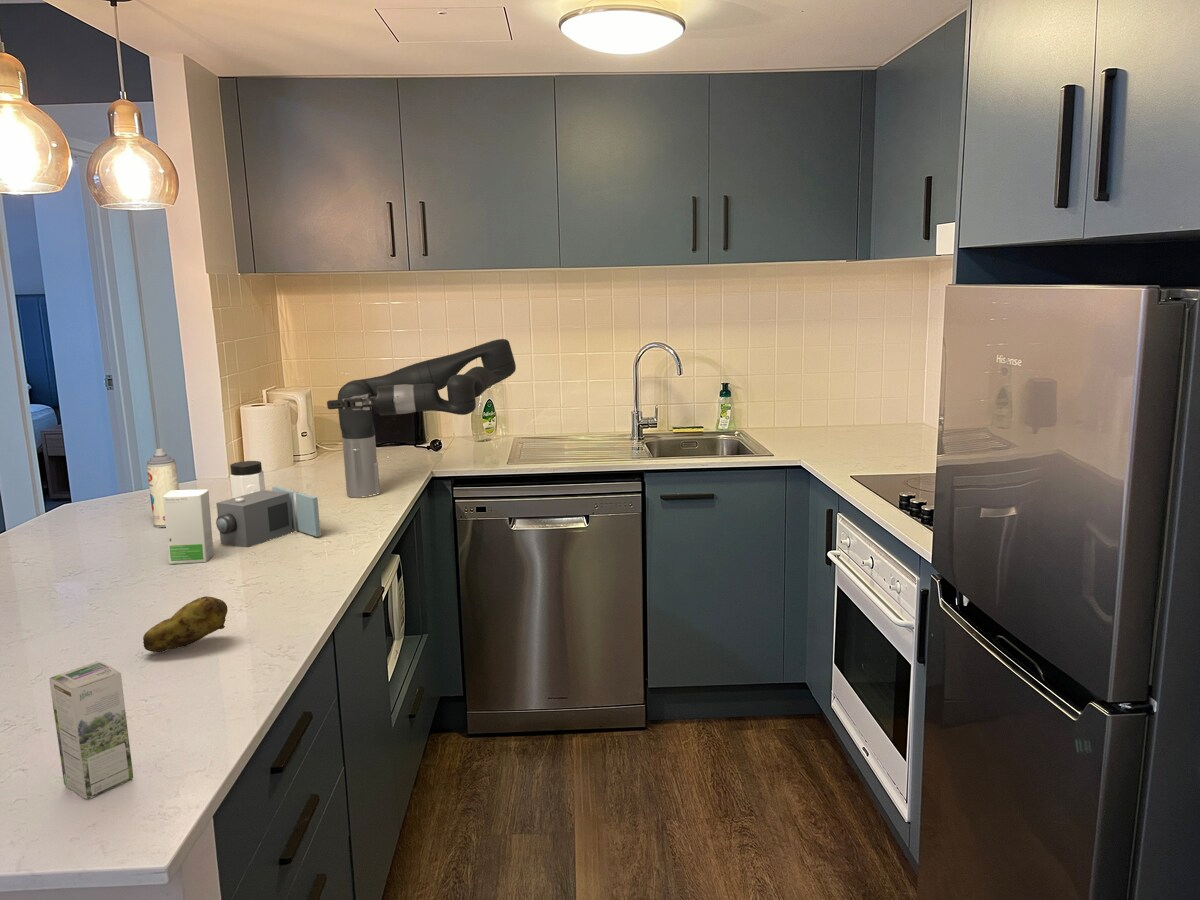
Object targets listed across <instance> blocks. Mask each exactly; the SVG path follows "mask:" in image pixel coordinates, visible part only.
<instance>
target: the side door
mask: <svg viewBox="0 0 1200 900" xmlns="http://www.w3.org/2000/svg"><path fill="white" fill-rule="evenodd" d="M271 487H272V491H275V492H284V493H289V498H290V508H291V519H292V529H293V530H296V531H295V532H300V533H304V534H307V535H311V536H314V537H321V536H322V535H321V534H322V533H321V523H320V522H321V521H320V513H319V512H320V511H319V502H318V501H319V498H318V496H313V495H309V494H306V493H303V492H299V491H295V490H292V489H288V488H285V487H282V486H278V485H276V486H271Z"/></svg>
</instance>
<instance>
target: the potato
mask: <svg viewBox="0 0 1200 900" xmlns="http://www.w3.org/2000/svg"><path fill="white" fill-rule="evenodd" d="M228 612H229V611H228V605H227V603H226V602H225V601H224V600H222V599H219V598H216V597H213V596H202V597H198V598H196V599H194V600H192V601H191V602H188V603H186V604H185V605H183V606H182V607H181V608H180V609H179V610H177V611H176V612H175V613H174V614H173V615H172V616H171V617H170V618H168V619H164V620H162V621H160V622H159V623H157V624H156V625H154V626H152V627H151V628H149V629H148V630H147V631H146V632H145V633H144V634H143V637H142V640H143V641H142V643H143V648H144V649H145V650H147V651H149V652H151V653H164V652H166V651H169V650H176V649H180V648H185V647H188V646H190V645H191V644H192V645H193V644H195V643H196V642H198V641H200V640H201V639H203V638H205V637H206V636H208V635H210V634H212V633H214V632H216V631H218V630H223V629H224V628H225V627H226V626H225V622H226V617H227V614H228Z"/></svg>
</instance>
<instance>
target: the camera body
mask: <svg viewBox="0 0 1200 900" xmlns="http://www.w3.org/2000/svg"><path fill="white" fill-rule="evenodd" d="M216 510H217V511H216V512H217V518H216V520H215V522H216V523H215V524H216V528H217V531H219V537H220V540H219V541H220V544H222V545H230V546H235V547H240V548H241V547H242V548H250V547H253V545H254V546H256V545H259V544H262V543H265V542H268V541H271V540H274V539H277V538H279V536H280V537H282V535H283V536H286V535H288V533H289V534H292V533H293V531H294V529H292V519H291V508H290V498H289V493H284V492H275V491H273V490H267V489H265V490H262V491H258V492H254V493H251V494H247V495H243V496H240V497H236V498H232V497H231V498H230V499H229V498H228V499H225V500H223V501H222V500H221V501H218V502H216ZM291 532H292V533H291ZM285 534H286V535H285ZM276 537H277V538H276ZM273 538H274V539H273ZM270 539H271V540H270ZM267 540H268V541H267Z"/></svg>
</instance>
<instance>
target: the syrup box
mask: <svg viewBox="0 0 1200 900" xmlns="http://www.w3.org/2000/svg"><path fill="white" fill-rule="evenodd" d="M122 680H123V679H122V673H121V672H120V671H118V670H117V669H115V668H114V667H112V666H111V665H109V664H106V663H104V662H101V661H98V660H97V661H94V662H90V663H88V664H86V665H82V666H78V667H76V668H75V669H70V670H68V671H65V672H63V673H62V672H61V673H60V674H57V675H54V676H52V677H51V676H50V677H49V686H50V687H49V688H50V695H51V701H52V709H53V714H54V715H53V716H54V721H55V729H56V735H57V744H58V749H59V757H60V763H61V764H60V765H61V770H62V771H61V772H62V777H63V785H64V786H65V787H66V788H68V789H69V790H71V791H72V792H74V793H75V794H77V795H79V796H80V797H82V798H84V799H85V800H90V799H92V798H94V797H97V796H98V795H100V794H103V793H105V792H107V791H109V790H111V789H114V788H116V787H119V786H120V785H122V784H125V783H126V782H128V781H130V780H132V779H133V778H134V771H133V762H132V754H131V753H132V752H131V748H130V746H131V745H130V737H129V729H128V721H127V713H126V706H125V705H126V704H125V697H124V696H125V695H124V688H123V681H122Z"/></svg>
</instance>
